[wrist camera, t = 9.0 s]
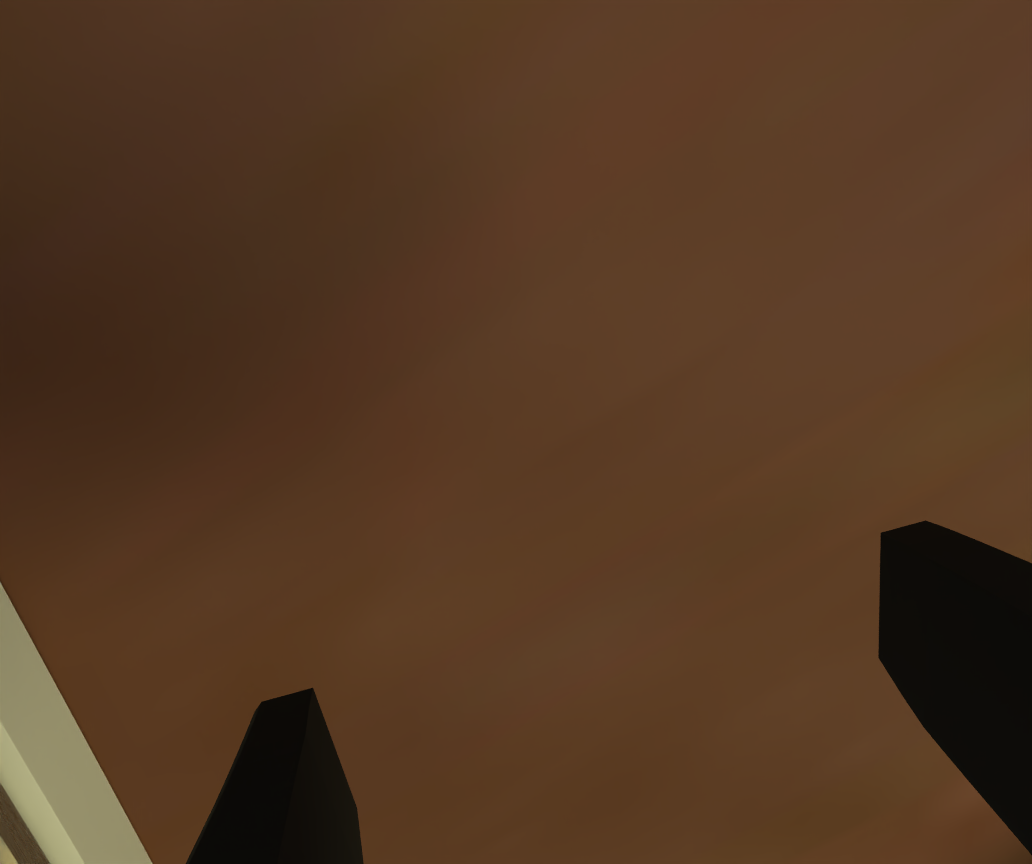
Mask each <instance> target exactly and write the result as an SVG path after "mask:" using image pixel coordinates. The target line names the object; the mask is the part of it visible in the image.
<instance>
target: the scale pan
mask: <svg viewBox="0 0 1032 864" xmlns="http://www.w3.org/2000/svg"><path fill="white" fill-rule="evenodd" d="M0 864H50V862H49V861H48V859H47V857H46V856H45V854H44V852H43V851H42V849H41V848H40V846H39V844H38V843H37V841H36V840H35V838H34V836H33V835H32V833H31V831H30V830H29V828H28V827H27V825H26V823H25V822H24V820H23V819H22V817H21V815H20V814H19V812H18V810H17V809H16V807H15V806H14V804H13V802H12V801H11V799H10V798H9V796H8V794H7V793H6V791H5V789H4V788H3V786H2V785H1V783H0Z"/></svg>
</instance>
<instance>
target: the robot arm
mask: <svg viewBox="0 0 1032 864" xmlns="http://www.w3.org/2000/svg"><path fill="white" fill-rule="evenodd" d="M879 659H880V661H881V662H882V664H883V665H884V667H885V669H886V670H887V672H888V673H889V675H890V677H891V678H892V680H893V681H894V683H895V685H896V686H897V688H898V689H899V691H900V692H901V694H902V696H903V697H904V699H905V700H906V702H907V703H908V705H909V706H910V708H911V709H912V710H913V712H914V713H915V715H916V716H917V718H918V719H919V721H920V722H921V724H922V725H923V727H924V728H925V729H926V730H927V732H928V733H929V734H930V735H931V737H932V738H933V739H934V740H935V741H936V743H937V744H938V745H939V746H940V747H941V749H942V750H943V751H944V752H945V753H946V755H947V756H948V757H949V758H950V759H951V761H952V762H953V763H954V764H955V765H956V767H957V768H958V769H959V770H960V771H961V772H962V774H963V775H964V776H965V777H966V778H967V780H968V781H969V782H970V783H971V784H972V785H973V787H974V788H975V789H976V790H977V791H978V793H979V794H980V795H981V796H982V797H983V798H984V800H985V801H986V802H987V803H988V804H989V805H990V807H991V808H992V809H993V810H994V811H995V812H996V814H997V815H998V816H999V817H1000V818H1001V819H1002V821H1003V822H1004V823H1005V824H1006V825H1007V826H1008V828H1009V829H1010V830H1011V831H1012V832H1013V834H1014V835H1015V836H1016V837H1017V838H1018V839H1019V841H1020V842H1021V843H1022V844H1023V845H1024V846H1025V848H1026V849H1027V850H1028V851H1029V852H1030V853H1031V855H1032V563H1030V562H1027V561H1025V560H1023V559H1020V558H1018V557H1015V556H1013V555H1011V554H1008V553H1006V552H1004V551H1001V550H999V549H996V548H994V547H992V546H989V545H987V544H984V543H982V542H980V541H977V540H975V539H972V538H970V537H968V536H965V535H963V534H960V533H958V532H955V531H953V530H950V529H947V528H945V527H942V526H939V525H937V524H934V523H931V522H928V521H922V522H919V523H915V524H911V525H908V526H904V527H900V528H897V529H893V530H889V531H886V532H882V533H881V551H880V606H879ZM186 864H363V855H362V846H361V838H360V830H359V821H358V813H357V807H356V804H355V801H354V799H353V796H352V793H351V790H350V788H349V785H348V782H347V779H346V777H345V774H344V771H343V769H342V766H341V763H340V760H339V758H338V755H337V752H336V749H335V747H334V744H333V741H332V739H331V736H330V733H329V730H328V728H327V725H326V722H325V719H324V717H323V714H322V711H321V709H320V706H319V703H318V700H317V698H316V695H315V692H314V689H313V688H311V689H307V690H303V691H300V692H296V693H292V694H289V695H285V696H281V697H278V698H274V699H270V700H267V701H263V702H261V703H260V705H259V706H258V708H257V709H256V711H255V713H254V715H253V717H252V720H251V722H250V725H249V727H248V729H247V732H246V734H245V737H244V739H243V741H242V744H241V746H240V749H239V751H238V753H237V756H236V758H235V760H234V762H233V765H232V767H231V769H230V772H229V774H228V776H227V778H226V780H225V783H224V785H223V787H222V789H221V791H220V794H219V796H218V798H217V800H216V803H215V805H214V807H213V809H212V811H211V813H210V815H209V817H208V819H207V821H206V823H205V825H204V827H203V829H202V831H201V834H200V836H199V838H198V840H197V842H196V844H195V846H194V848H193V850H192V852H191V854H190V856H189V858H188V860H187V862H186Z"/></svg>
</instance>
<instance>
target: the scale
mask: <svg viewBox="0 0 1032 864" xmlns="http://www.w3.org/2000/svg"><path fill="white" fill-rule="evenodd" d="M0 783H1V785H2V786H3V788H4V789H5V791H6V793H7V794H8V796H9V798H10V799H11V801H12V802H13V804H14V806H15V807H16V809H17V810H18V812H19V814H20V815H21V817H22V819H23V820H24V822H25V823H26V825H27V827H28V828H29V830H30V831H31V833H32V835H33V836H34V838H35V840H36V841H37V843H38V844H39V846H40V848H41V849H42V851H43V852H44V854H45V856H46V857H47V859H48V861H49V862H50V864H152V862H151V860H150V858H149V856H148V855H147V853H146V851H145V849H144V847H143V845H142V844H141V842H140V840H139V838H138V836H137V834H136V832H135V831H134V829H133V827H132V825H131V823H130V821H129V819H128V818H127V816H126V814H125V812H124V810H123V808H122V806H121V805H120V803H119V801H118V799H117V797H116V795H115V794H114V792H113V790H112V788H111V786H110V784H109V782H108V781H107V779H106V777H105V775H104V773H103V771H102V769H101V768H100V766H99V764H98V762H97V760H96V758H95V757H94V755H93V753H92V751H91V749H90V747H89V745H88V744H87V742H86V740H85V738H84V736H83V734H82V732H81V731H80V729H79V727H78V725H77V723H76V721H75V719H74V718H73V716H72V714H71V712H70V710H69V708H68V707H67V705H66V703H65V701H64V699H63V697H62V695H61V694H60V692H59V690H58V688H57V686H56V684H55V682H54V681H53V679H52V677H51V675H50V673H49V671H48V670H47V668H46V666H45V664H44V662H43V660H42V658H41V657H40V655H39V653H38V651H37V649H36V647H35V645H34V644H33V642H32V640H31V638H30V636H29V634H28V632H27V631H26V629H25V627H24V625H23V623H22V621H21V620H20V618H19V616H18V614H17V612H16V610H15V608H14V607H13V605H12V603H11V601H10V599H9V597H8V595H7V594H6V592H5V590H4V588H3V586H2V584H1V583H0Z"/></svg>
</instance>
